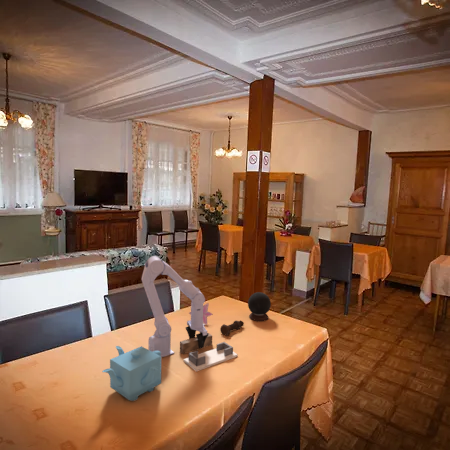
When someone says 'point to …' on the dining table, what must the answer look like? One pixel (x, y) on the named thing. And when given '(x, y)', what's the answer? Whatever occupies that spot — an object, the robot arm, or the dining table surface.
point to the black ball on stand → (259, 306)
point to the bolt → (231, 327)
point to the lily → (205, 313)
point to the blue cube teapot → (135, 372)
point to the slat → (193, 344)
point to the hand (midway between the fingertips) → (196, 344)
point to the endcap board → (210, 357)
